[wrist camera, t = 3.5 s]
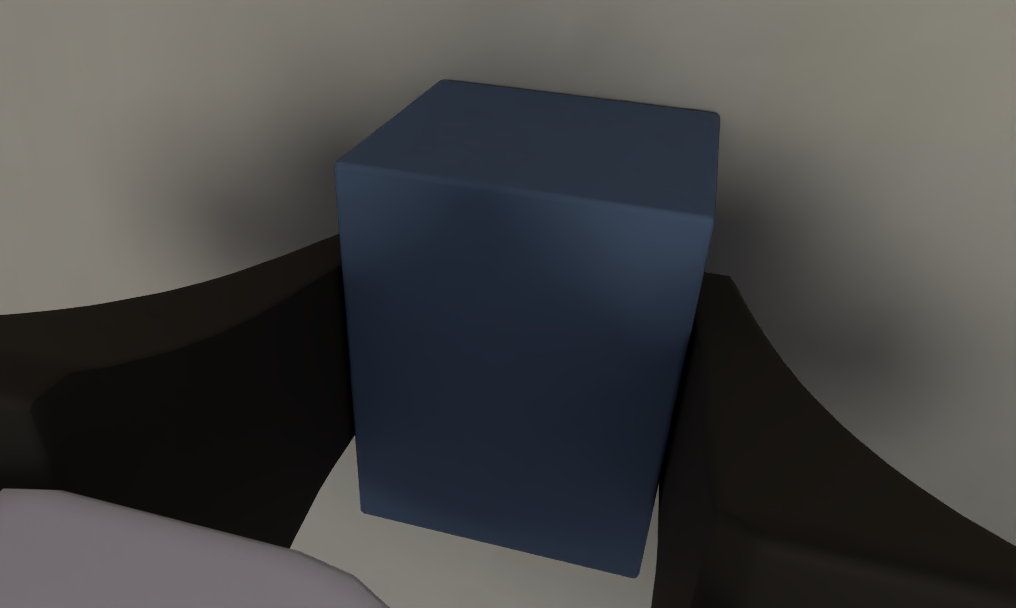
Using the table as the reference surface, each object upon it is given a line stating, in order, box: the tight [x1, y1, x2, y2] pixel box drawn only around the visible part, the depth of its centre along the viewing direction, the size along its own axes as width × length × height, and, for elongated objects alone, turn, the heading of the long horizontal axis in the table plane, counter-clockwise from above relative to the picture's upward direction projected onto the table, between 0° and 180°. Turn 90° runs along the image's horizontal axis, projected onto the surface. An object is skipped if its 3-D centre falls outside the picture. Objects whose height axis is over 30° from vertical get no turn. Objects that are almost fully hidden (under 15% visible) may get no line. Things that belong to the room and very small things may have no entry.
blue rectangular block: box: [334, 80, 720, 578], centre depth 12 cm, size 6×4×4 cm
